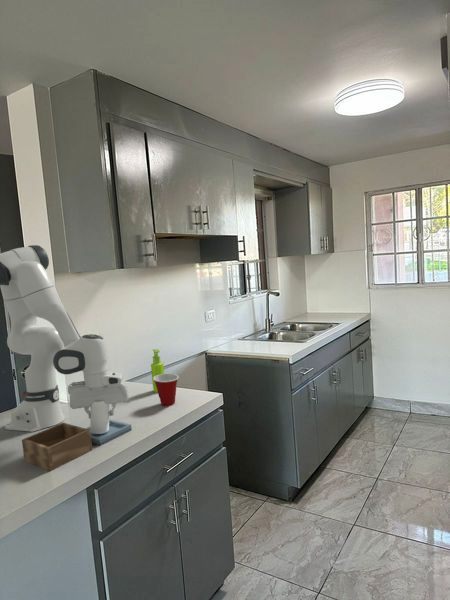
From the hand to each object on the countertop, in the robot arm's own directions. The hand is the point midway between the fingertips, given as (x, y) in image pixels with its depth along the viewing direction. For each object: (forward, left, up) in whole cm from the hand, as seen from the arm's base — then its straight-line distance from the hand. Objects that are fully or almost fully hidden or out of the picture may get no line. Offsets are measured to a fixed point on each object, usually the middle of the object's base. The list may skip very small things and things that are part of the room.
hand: (101, 416), depth 147 cm
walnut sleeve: (-8, -16, -7) cm, 19 cm away
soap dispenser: (+5, +48, -7) cm, 49 cm away
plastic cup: (+15, +30, -7) cm, 34 cm away
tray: (0, 0, -7) cm, 7 cm away
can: (-1, 0, -6) cm, 6 cm away
